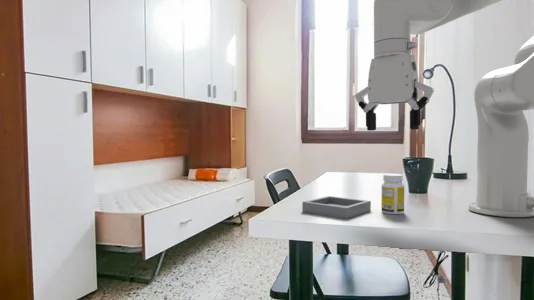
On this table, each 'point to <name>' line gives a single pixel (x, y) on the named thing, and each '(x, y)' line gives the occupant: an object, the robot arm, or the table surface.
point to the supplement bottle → (393, 194)
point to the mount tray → (336, 207)
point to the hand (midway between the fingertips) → (392, 129)
